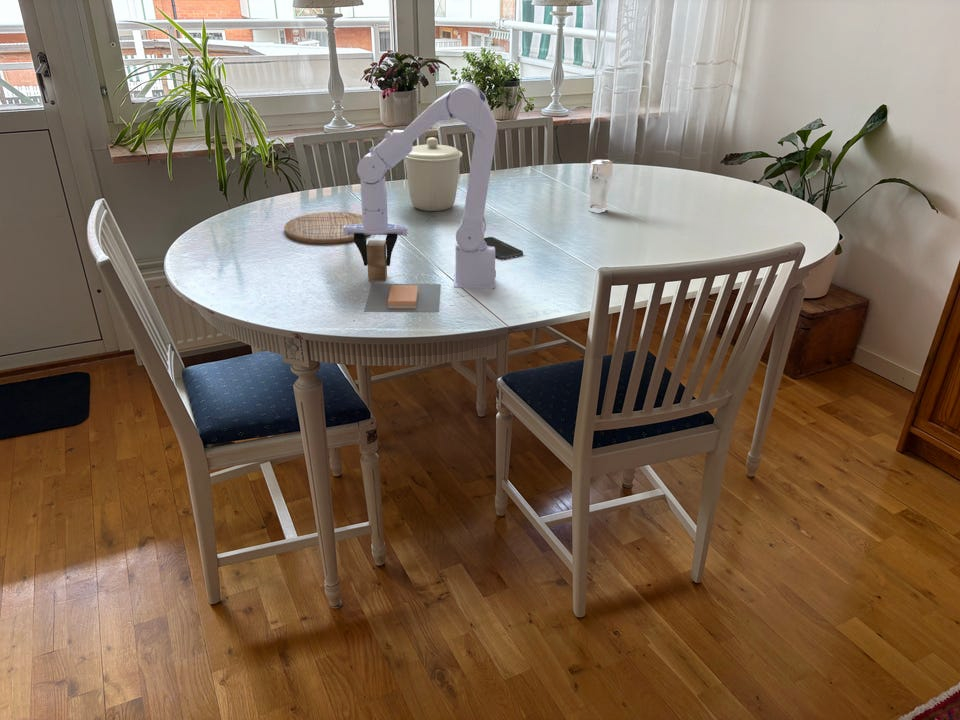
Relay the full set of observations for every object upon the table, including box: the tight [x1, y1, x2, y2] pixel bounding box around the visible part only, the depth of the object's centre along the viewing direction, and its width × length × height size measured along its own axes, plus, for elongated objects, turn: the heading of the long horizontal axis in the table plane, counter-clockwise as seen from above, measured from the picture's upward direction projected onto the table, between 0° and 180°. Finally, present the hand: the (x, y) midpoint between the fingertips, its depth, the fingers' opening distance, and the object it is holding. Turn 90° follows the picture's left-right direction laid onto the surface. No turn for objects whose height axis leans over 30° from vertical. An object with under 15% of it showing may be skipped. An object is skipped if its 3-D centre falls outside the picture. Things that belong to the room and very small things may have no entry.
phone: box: [484, 236, 524, 261], centre depth 195 cm, size 8×1×15 cm
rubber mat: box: [363, 283, 442, 313], centre depth 165 cm, size 16×16×1 cm
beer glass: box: [587, 158, 614, 209], centre depth 226 cm, size 7×7×15 cm
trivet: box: [283, 211, 371, 246], centre depth 207 cm, size 25×25×2 cm
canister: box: [404, 136, 463, 212], centre depth 225 cm, size 18×18×21 cm
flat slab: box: [388, 285, 418, 308], centre depth 163 cm, size 6×2×9 cm
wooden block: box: [367, 239, 388, 282], centre depth 173 cm, size 4×4×9 cm
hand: (377, 264), depth 174 cm, fingers open, 5 cm apart
